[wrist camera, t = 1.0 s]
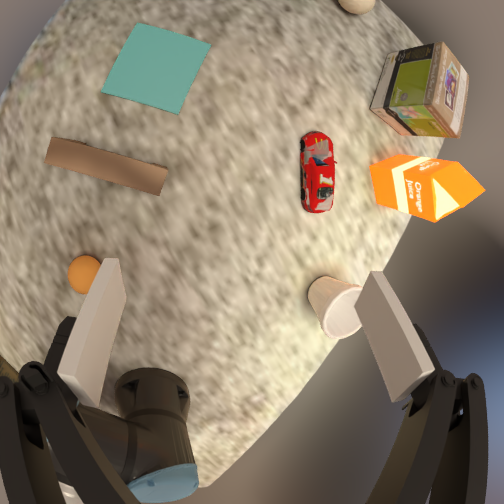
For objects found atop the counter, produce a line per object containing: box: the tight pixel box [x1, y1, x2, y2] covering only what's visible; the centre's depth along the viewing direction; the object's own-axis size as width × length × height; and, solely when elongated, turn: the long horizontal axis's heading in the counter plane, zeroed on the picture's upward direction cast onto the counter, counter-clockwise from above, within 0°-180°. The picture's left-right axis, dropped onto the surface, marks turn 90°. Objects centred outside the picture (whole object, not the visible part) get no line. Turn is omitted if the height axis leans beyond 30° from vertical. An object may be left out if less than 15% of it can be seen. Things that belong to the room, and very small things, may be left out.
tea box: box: [370, 42, 469, 138], centre depth 37 cm, size 15×10×15 cm, turn 156°
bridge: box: [44, 137, 168, 196], centre depth 30 cm, size 3×14×9 cm, turn 68°
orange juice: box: [369, 155, 485, 222], centre depth 40 cm, size 8×9×20 cm
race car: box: [300, 131, 337, 213], centre depth 42 cm, size 13×5×4 cm, turn 0°
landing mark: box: [101, 23, 211, 115], centre depth 31 cm, size 12×12×1 cm
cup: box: [308, 276, 363, 339], centre depth 48 cm, size 10×10×9 cm
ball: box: [68, 256, 101, 294], centre depth 35 cm, size 6×6×6 cm
